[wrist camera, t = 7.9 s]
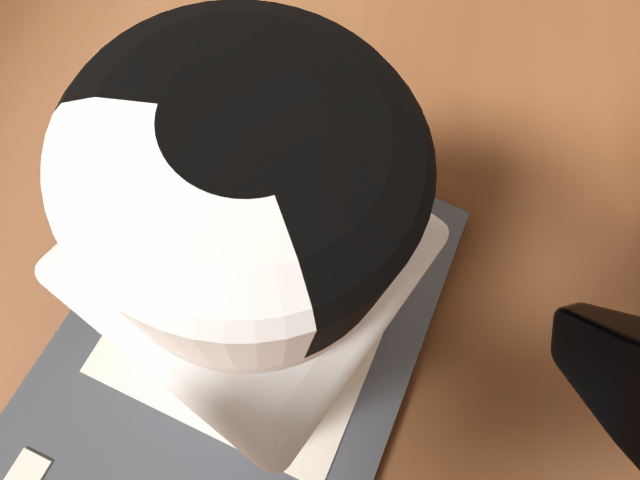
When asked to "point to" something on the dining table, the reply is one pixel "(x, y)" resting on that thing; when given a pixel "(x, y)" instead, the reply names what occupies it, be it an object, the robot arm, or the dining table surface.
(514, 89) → the dining table surface
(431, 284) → the label mat
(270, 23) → the medicine bottle
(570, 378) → the robot arm
